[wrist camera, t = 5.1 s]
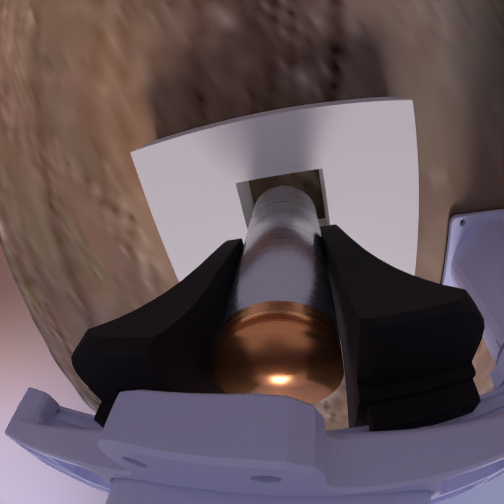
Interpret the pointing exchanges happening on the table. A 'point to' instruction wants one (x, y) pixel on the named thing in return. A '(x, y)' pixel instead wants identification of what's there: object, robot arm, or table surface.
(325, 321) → the pin
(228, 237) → the block
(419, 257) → the table surface
